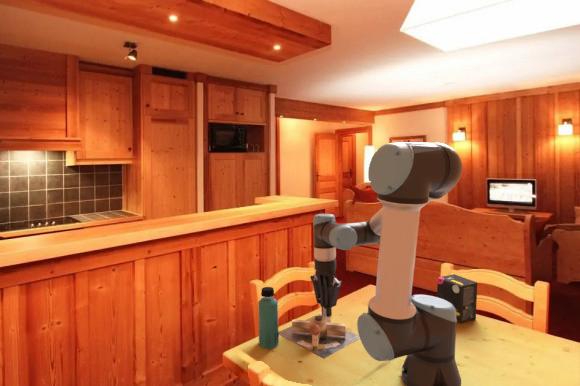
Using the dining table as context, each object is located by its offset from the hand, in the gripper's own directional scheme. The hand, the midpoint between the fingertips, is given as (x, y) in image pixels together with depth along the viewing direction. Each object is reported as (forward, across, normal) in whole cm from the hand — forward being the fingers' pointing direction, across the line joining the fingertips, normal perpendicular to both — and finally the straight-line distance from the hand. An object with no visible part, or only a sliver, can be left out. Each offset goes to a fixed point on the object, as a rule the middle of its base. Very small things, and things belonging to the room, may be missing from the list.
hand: (326, 324), depth 129 cm
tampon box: (+4, -26, -45) cm, 52 cm away
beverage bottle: (+3, +6, +22) cm, 23 cm away
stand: (+3, -2, +6) cm, 7 cm away
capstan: (+1, -2, +6) cm, 6 cm away
